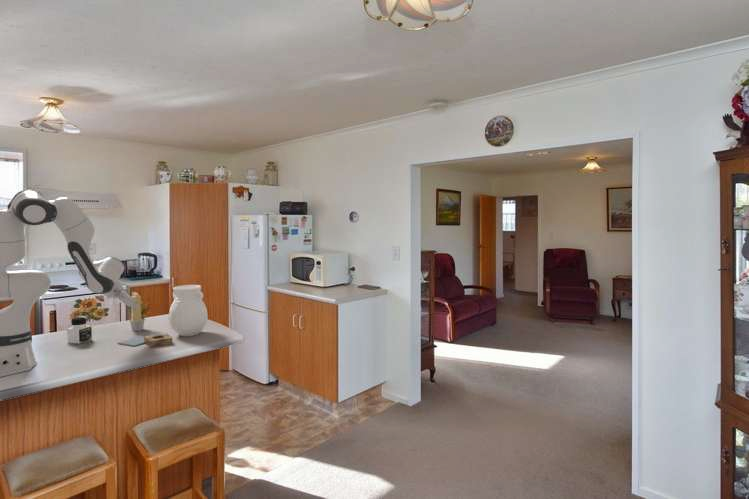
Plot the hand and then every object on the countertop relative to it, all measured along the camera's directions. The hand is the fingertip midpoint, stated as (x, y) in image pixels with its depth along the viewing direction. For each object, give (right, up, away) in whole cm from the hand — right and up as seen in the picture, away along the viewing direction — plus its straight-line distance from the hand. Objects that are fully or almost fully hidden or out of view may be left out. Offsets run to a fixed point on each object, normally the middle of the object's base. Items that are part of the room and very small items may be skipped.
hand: (137, 307), depth 206 cm
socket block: (+10, -17, 0) cm, 20 cm away
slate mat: (-1, -17, +1) cm, 17 cm away
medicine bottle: (-29, -17, +2) cm, 34 cm away
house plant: (-13, -16, +22) cm, 30 cm away
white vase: (+18, -16, +16) cm, 29 cm away
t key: (0, -7, 0) cm, 7 cm away
